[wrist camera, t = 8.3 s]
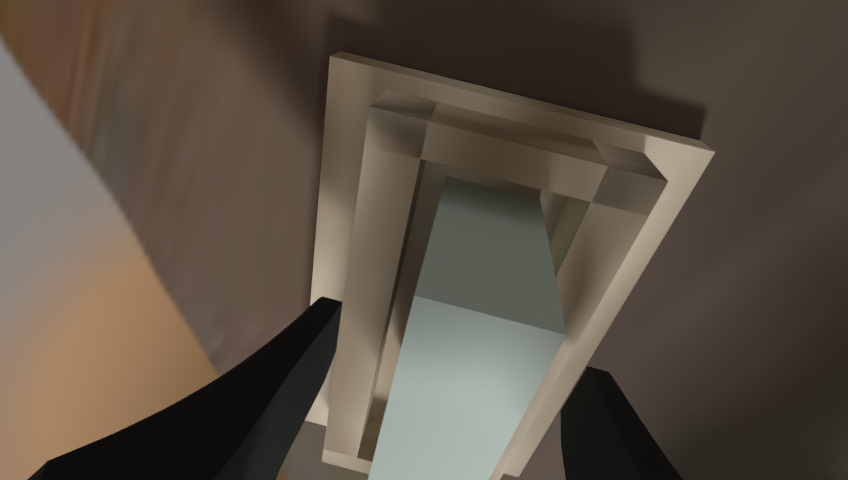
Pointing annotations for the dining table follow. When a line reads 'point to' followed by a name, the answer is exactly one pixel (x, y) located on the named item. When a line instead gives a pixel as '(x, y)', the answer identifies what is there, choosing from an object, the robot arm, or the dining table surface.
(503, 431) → the pale teal block
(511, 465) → the beige rectangular tray
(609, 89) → the dining table surface
